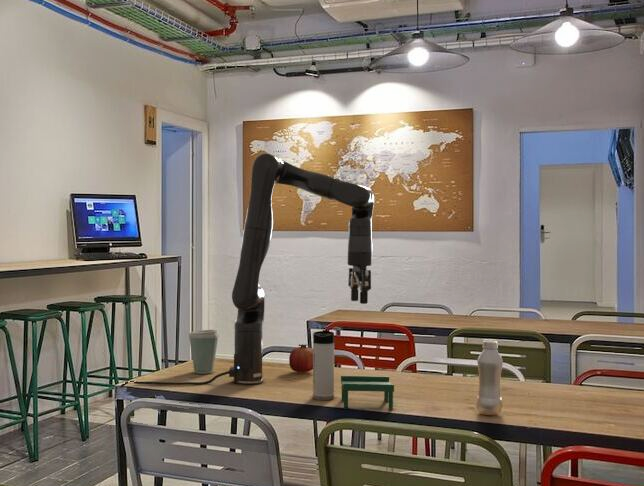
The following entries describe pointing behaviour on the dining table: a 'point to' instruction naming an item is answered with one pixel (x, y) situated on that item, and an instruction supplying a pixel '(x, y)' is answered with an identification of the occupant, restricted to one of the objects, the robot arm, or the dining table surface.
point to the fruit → (301, 359)
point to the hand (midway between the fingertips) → (359, 302)
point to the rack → (367, 387)
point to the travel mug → (323, 365)
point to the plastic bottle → (489, 379)
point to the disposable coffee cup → (203, 350)
